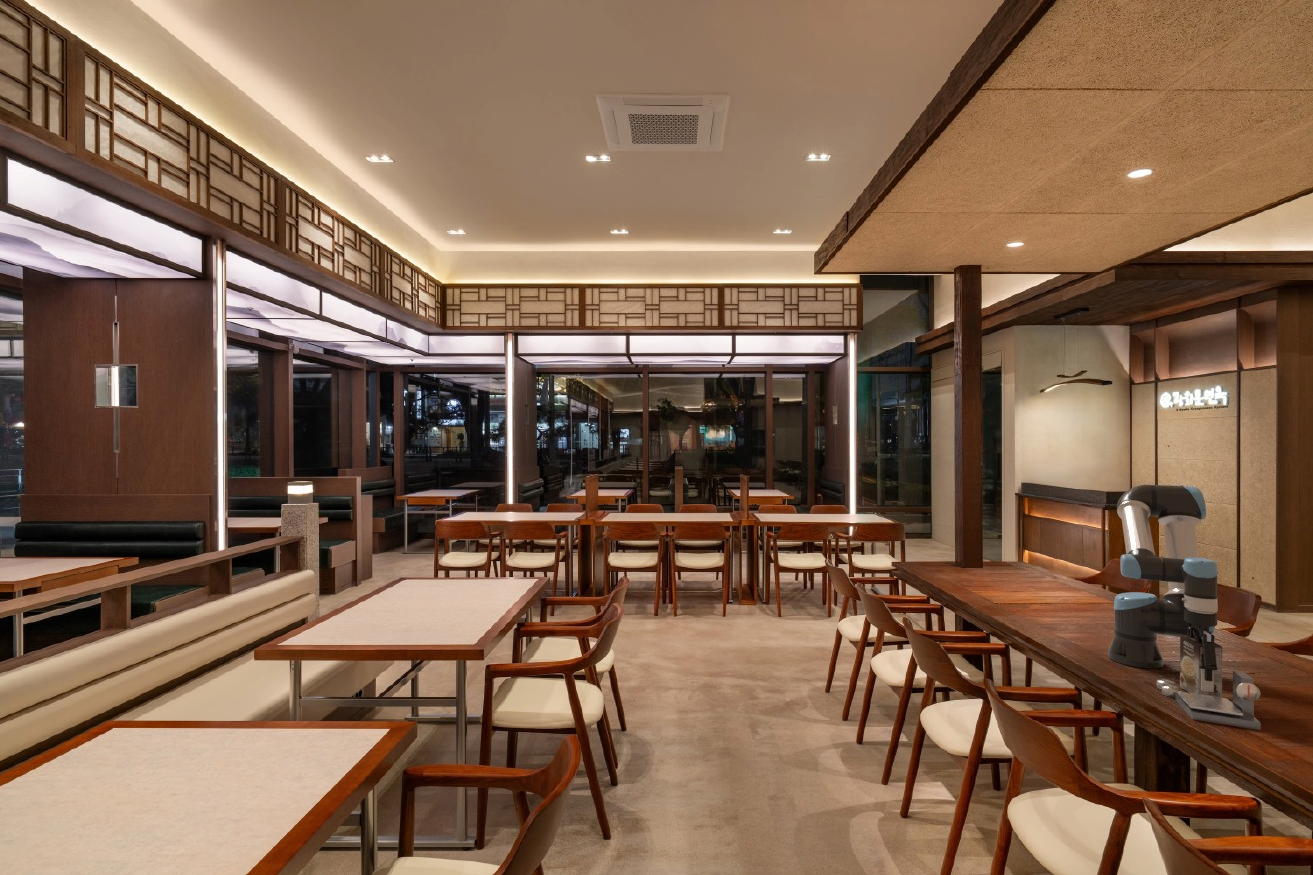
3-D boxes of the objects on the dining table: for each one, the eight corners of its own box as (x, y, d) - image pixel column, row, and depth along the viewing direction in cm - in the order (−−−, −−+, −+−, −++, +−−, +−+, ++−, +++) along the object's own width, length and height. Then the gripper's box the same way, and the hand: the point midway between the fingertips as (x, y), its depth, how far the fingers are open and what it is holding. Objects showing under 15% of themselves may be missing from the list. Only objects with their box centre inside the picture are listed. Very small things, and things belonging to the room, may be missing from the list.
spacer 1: (1154, 685, 190) (1154, 677, 190) (1172, 688, 188) (1172, 680, 188) (1159, 690, 186) (1159, 682, 186) (1177, 693, 184) (1177, 685, 184)
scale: (1175, 699, 179) (1175, 659, 179) (1243, 710, 172) (1243, 667, 172) (1192, 719, 166) (1192, 675, 166) (1266, 731, 159) (1266, 685, 159)
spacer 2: (1159, 691, 185) (1159, 683, 185) (1178, 694, 183) (1178, 685, 183) (1164, 696, 181) (1164, 688, 181) (1183, 699, 179) (1183, 691, 179)
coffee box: (1178, 686, 188) (1178, 634, 188) (1202, 688, 186) (1202, 636, 186) (1198, 699, 179) (1198, 644, 179) (1223, 700, 177) (1223, 646, 177)
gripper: (1172, 599, 194) (1172, 669, 194) (1197, 618, 174) (1198, 696, 174) (1202, 602, 191) (1202, 673, 191) (1232, 622, 171) (1232, 701, 171)
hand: (1200, 684), depth 182 cm, fingers closed on coffee box, 10 cm apart
